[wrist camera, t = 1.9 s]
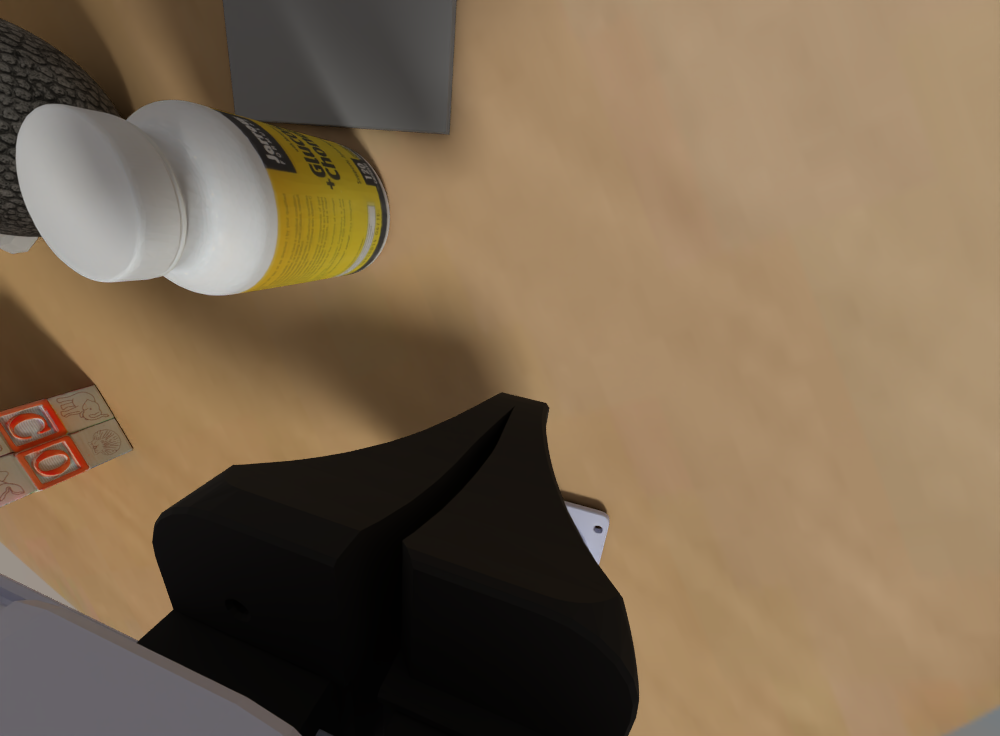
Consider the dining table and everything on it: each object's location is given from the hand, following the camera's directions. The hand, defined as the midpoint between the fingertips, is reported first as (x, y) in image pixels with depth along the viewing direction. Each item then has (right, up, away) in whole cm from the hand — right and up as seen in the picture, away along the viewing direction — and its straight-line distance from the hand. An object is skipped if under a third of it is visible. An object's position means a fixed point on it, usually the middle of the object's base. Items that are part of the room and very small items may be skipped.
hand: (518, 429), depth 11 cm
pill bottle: (-9, +10, +11) cm, 17 cm away
